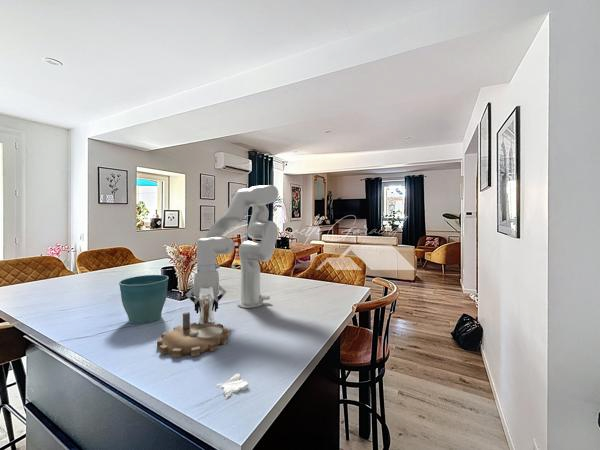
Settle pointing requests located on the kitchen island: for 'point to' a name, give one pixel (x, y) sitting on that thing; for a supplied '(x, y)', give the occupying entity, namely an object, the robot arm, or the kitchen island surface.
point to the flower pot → (144, 297)
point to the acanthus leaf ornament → (233, 385)
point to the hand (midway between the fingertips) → (206, 311)
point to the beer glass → (206, 305)
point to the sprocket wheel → (192, 338)
